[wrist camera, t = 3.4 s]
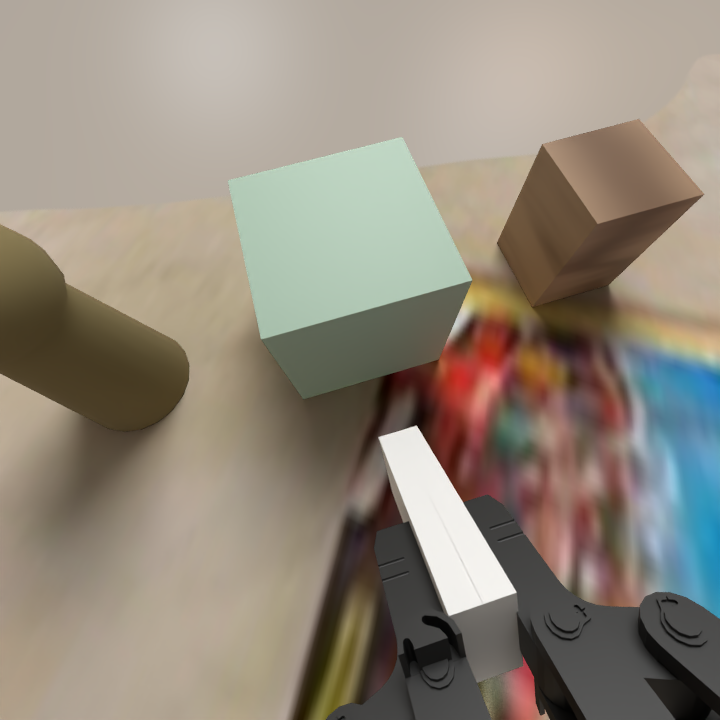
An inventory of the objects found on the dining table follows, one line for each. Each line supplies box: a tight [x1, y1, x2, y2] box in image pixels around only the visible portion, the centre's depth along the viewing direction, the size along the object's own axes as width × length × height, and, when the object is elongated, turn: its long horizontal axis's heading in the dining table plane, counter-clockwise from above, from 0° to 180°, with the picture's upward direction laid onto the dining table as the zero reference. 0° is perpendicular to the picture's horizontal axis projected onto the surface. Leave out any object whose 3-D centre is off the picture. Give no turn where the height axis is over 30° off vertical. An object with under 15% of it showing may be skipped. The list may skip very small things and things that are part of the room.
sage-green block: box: [228, 137, 472, 399], centre depth 18 cm, size 8×8×8 cm
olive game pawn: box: [0, 225, 189, 432], centre depth 16 cm, size 6×6×11 cm
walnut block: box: [497, 119, 704, 307], centre depth 20 cm, size 5×5×7 cm
